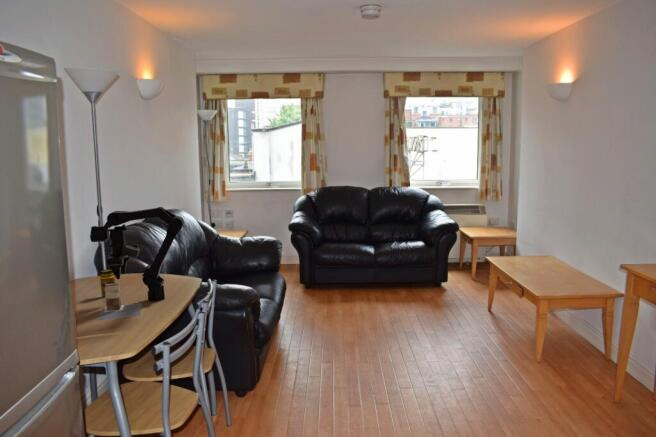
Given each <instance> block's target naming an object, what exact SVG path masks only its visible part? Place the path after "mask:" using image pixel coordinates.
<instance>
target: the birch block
mask: <svg viewBox="0 0 656 437" xmlns="http://www.w3.org/2000/svg"><path fill="white" fill-rule="evenodd" d="M105 296H106V297H105V300H106V299H113V298H119V296H120V297H121V289H120V283H119V282H115V283H114V284H106V286H105Z"/></svg>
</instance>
